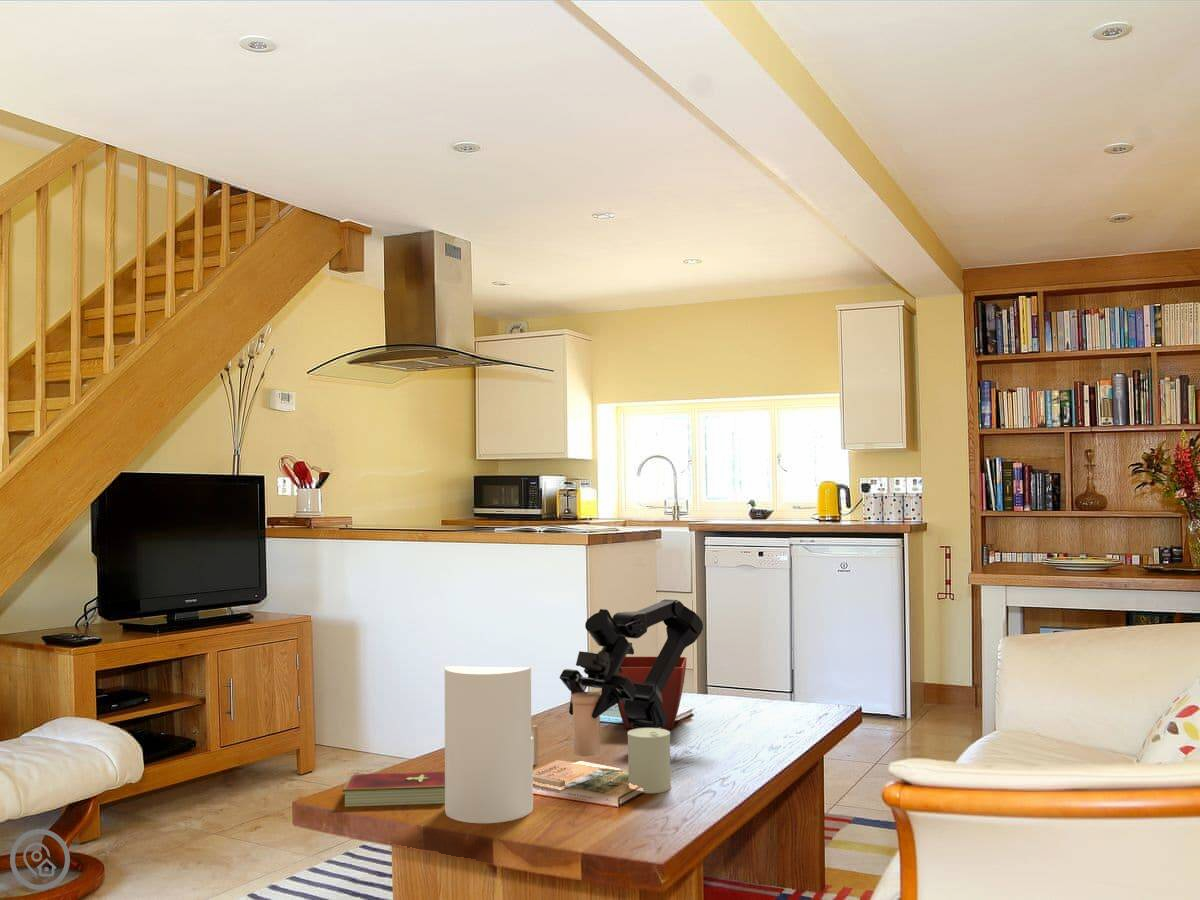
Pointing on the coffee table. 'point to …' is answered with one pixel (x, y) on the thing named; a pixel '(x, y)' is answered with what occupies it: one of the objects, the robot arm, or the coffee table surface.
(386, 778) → the hardcover book
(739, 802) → the coffee table surface
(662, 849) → the coffee table surface
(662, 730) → the can
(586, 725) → the tan tall round cup
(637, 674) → the plant pot
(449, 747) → the cylinder
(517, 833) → the coffee table surface
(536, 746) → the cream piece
